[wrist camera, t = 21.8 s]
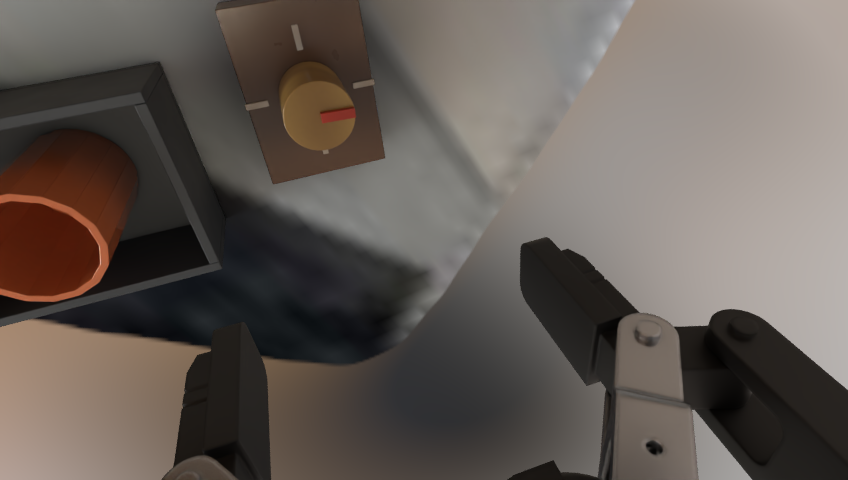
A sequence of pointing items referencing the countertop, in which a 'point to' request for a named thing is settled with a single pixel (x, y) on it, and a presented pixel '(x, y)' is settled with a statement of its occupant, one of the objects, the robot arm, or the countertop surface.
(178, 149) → the basin
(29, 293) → the cup
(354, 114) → the tap knob
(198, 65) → the countertop surface
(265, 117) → the tap block
